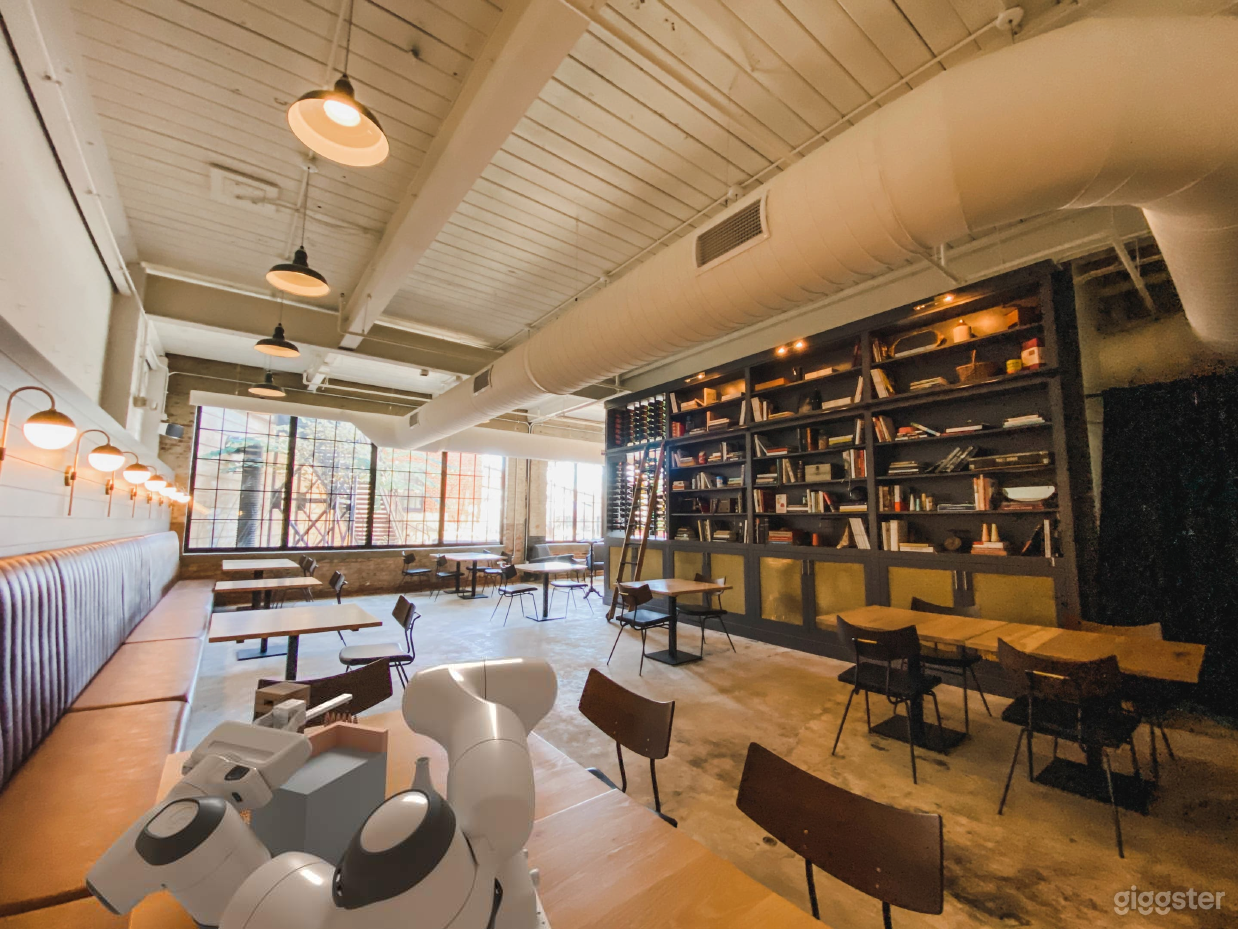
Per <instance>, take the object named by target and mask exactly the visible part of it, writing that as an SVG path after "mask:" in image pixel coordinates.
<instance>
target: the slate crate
mask: <svg viewBox="0 0 1238 929" xmlns="http://www.w3.org/2000/svg"><path fill="white" fill-rule="evenodd" d="M387 766H388V749H387V750H386V751H385V752H383V753H378V752H373V751H368V750H363V749H357V748H352V747H347V746H342V745H335V746H333V747H331V748H329V749H327V750H325V751H323V752H321V753H319V754H317V755H315V756H312V757H310V758H308V759H307V760H306V761H305V762H304V763H303V765H302V766H301V767H300V768H299V769H298V770H297V771H296V772H295V773H294V774H293V776H292V777H291V778H290V779H289V780H288V781H287V782H286V783H285V784H283V785H282V786H281V787H279V788H277V789H275V790H272V791H271V793H272V795H273V796H272V798H271V800H270V801H269V802H268V803H267V804H266V805H265V806H263V807H261V808H256V809H249V823H248V824H249V827H250V828H251V830H252V831H253V832H254V833H255V835H256V836H257V837H258V838H259V840H260V841H261V842H262V843H263V845H264V846H266V847H267V848H268V849H269V850H270V851H271V852H272V853H273V854H274V855H275V856H278V855H281V854H283V853H286V852H302V853H307V854H311V855H314V856H316V857H319V858H321V859H323V860H324V861H326V862H328V863H329V864H331V865H332V866H334V867H335V868H336V867H337V864H338V862H339V860H340V859H341V857H342V855H343V854H344V852H345V851H346V849H347V848H348V845H349V843H350V841H351V840H352V838H353V836H354V835H355V833H356V832H357V830H358V829H359V828H360V826H361V825H362V823H363V822H364V821H365V819H366V818H367V817H368V816H369V814H370V813H371V812H372V811H373V810H374V809H375V808H376V807H377V806H378V805H380V804H381V803H382V802H383V801H385V800H386V790H387Z"/></svg>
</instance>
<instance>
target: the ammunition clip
mask: <svg viewBox="0 0 1238 929" xmlns="http://www.w3.org/2000/svg"><path fill="white" fill-rule="evenodd" d="M335 716H336V717H335ZM357 716H358V715H357V714H354V716H353V718H352V714H351V713H349V714H348V715H346V713H345V712H344V713H342V716H341V714H340V712H337V715H335V712H332V713H331V715H330V713H329V711H326V712H325V717H324V724H323V728H324V727H326V726H329V725H331V724H333V723H336V722H338V721H341V722H347V723H353V724H358V723H359V722H358V717H357Z"/></svg>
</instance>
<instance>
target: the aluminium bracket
mask: <svg viewBox="0 0 1238 929" xmlns="http://www.w3.org/2000/svg"><path fill="white" fill-rule="evenodd" d="M352 699H353V694H350V693H343V694H341V695H339V696H336V697H334V698H332V699H330V700H328V701H326V702H324V703H322V704H319V705H317V706H315V707H313V708H311V709H308V710H307V707H306V701H303V700H296V699H290V700H288V701H286V702H283V703H281V704H278V705H276V706H274V707H273V728H274V729H279V730H281V729H282V728H283V727H284V726H285V725H286V726H288V724H289V722H290V720H291V719H290V718H289V716H290V715H291V714H292V713H294V711H295V710H303V711H304V712H305V714H306V718H305V719H304V720H303V721H302V722H301V723H300V724H299V726H301V725H303V724H305V725H306V723H307V722H308V721H310V720H311V719H314V718H315V717H317V716H320V715H322V714H324V713H327V712H329V711H330V710H331V709H334V708H337V707H338V706H340V705H343V704H344V703H345V704H346V702H348V701H351V700H352Z"/></svg>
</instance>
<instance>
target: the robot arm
mask: <svg viewBox="0 0 1238 929" xmlns="http://www.w3.org/2000/svg"><path fill="white" fill-rule="evenodd" d="M558 686H559V685H558V679H557V675H556V672H555V670H554V668H553V667H552V665H551V664H550V663H549V662H548V661H547V660H546V659H544V658H539V657H532V656H510V657H508V656H507V657H497V658H485V659H481V660H469V661H467V660H466V661H458V662H456V661H455V662H446V663H445V662H444V663H442V664H438V665H435V666H430V667H426V668H423V669H420V670H417V671H416V672H415V673H414V674H413V675H412V677H411V678H410V679H409V681H408V682H407V684H406V686H405V687H404V691H403V694H402V699H401V713H402V717H403V720H404V722H405V724H406V726H407V727H408V728H409V729H410V731H412V732H413V733H414V734H418V735H421V736H425V737H427V738H430V739H431V740H433V741H435V742H436V743H438V744H439V745H440V746H441V747H442V748H443V749H444V750H445V752H446V754H447V761H448V771H447V774H446V794H445V795H446V798H444V797H443V796H442V795H441V794H440V793H439V792H438V791H437V790H436V789H435V790H434V789H432V788H429V787H417V788H412V789H411V788H408V789H404V790H401V791H399V792H397V793H394V794H393V795H391V796H389V797H388V798H385V801H383V802H382V803H381V804H380V805H378V806H377V807H376V808H375V809H374V810H373V811H372V812H371V813H370V814H369V816H368V817H367V818H366V819H365V821H364V822H363V823H362V825H361V826H360V828H359V829H358V830H357V832H356V833H355V835H354V836H353V838H352V840H351V841H350V843H349V845H348V848H347V849H346V851H345V852H344V854H343V855H342V857H341V859H340V860H339V862H338V864H337V867H336V868H335V867H334V866H332V865H331V864H329V863H328V862H326V861H324V860H323V859H321V858H319V857H316V856H314V855H311V854H307V853H302V852H286V853H283V854H281V855H278V856H275V855H274V854H273V853H272V852H271V851H270V850H269V849H268V848H267V847H266V846H264V845H263V843H262V842H261V841H260V840H259V838H258V837H257V836H256V835H255V833H254V832H253V831H252V830H251V828H250V827H249V826H248V823H247V822H246V820H244V818H243V817H242V816H241V814H240V813H239V812H243V811H246V810H247V811H248V810H249V811H250V809H256V808H261V807H263V806H265V805H266V804H267V803H268V802H269V801H270V800H271V798H272V796H273V795H272V793H271V791H272V790H275V789H277V788H279V787H281V786H282V785H283V784H285V783H286V782H287V781H288V780H289V779H290V778H291V777H292V776H293V774H294V773H295V772H296V771H297V770H298V769H299V768H300V767H301V766H302V765H303V763H304V762H305V761H306V760H307V759H308V757H309V756H310V754H311V752H312V745H311V743H310V741H309V739H308V737H307V736H306V735H307V734H305V733H304V734H301V733H296V732H297V730H298V727H299V724H300V723H301V722H302V721H303V720H304V719H305V718H306V714H305V712H304V711H303V710H295V711H294V713H292V714H291V715H290V716H289V718H290V719H291V720H290V722H289V724H288V726H286V725H285V726H284V727H283V728H282V729H281V730H279V729H274V728H268V727H267V726H269V725H270V724H272V723H273V710H272V711H271V712H270V713H268V714H267V713H265V714H264V715H262V716H260V717H259V718H256V719H255V720H254V721H253V722H251V723H246V722H240V721H237V720H230V719H229V720H226V721H224V722H221V723H220V724H218V725H217V726H216V727H214V728H213V730H212V731H210V732H209V733H208V734H207V736H205V737H204V738H203V740H201V741H200V743H199V744H198V745H197V746H196V747H195V748H194V749H193V751H192V752H191V754H190V756H189V757H188V759H186V760H185V761H184V762H183V763H182V768H181V775H182V776H183V777H181V779H180V780H178V782H177V783H175V785H173V787H172V788H171V790H170V791H169V792H168V794H167V795H166V796H165V797H164V798H163V799H162V800H160V802H159V803H157V804H156V805H155V806H153V807H151V808H150V809H148V810H147V811H145V812H144V813H143V814H142V815H141V816H140V817H139V818H137V820H135V821H134V822H133V823H132V824H131V825H130V826H129V827H128V828H127V829H126V830H125V831H124V832H123V833H122V834H121V835H120V836H119V837H117V839H116V840H115V841H114V842H113V843H112V844H111V845H110V846H109V847H108V848H107V849H106V850H105V851H104V853H103V854H101V856H100V857H99V858H98V859H97V860H96V862H95V863H94V864H93V866H91V868H90V869H89V871H88V872H87V873H86V874H85V885H86V887H87V889H88V891H89V892H90V893H91V894H92V895H93V897H95V898H96V899H97V900H98V902H99V903H100V904H101V905H103V907H105V908H106V909H107V911H109V912H110V913H112V914H113V915H116V916H124V915H126V914H128V913H129V912H131V911H132V909H134V908H135V907H137V906H138V905H139V904H140V903H141V902H143V900H144V899H146V898H147V897H148V896H149V895H150V894H154V893H158V892H165V891H167V892H168V893H169V894H170V895H171V896H172V897H173V899H175V900H176V902H177V903H178V904H180V906H181V907H182V908H183V909H184V910H185V912H187V914H188V915H190V917H191V919H192V920H193V922H194V923H195V924H196V926H197V928H199V929H552V927H551V924H550V923H549V920H548V917H547V915H546V912H545V910H544V907H543V904H542V902H541V899H540V897H539V894H538V891H537V889H536V887H538V886H540V883H541V878H540V871H539V869H538V868H532V869H530V868H529V865H528V861H527V859H529V850H528V849H527V848H525V849H523V848H524V846H526V843H527V842H528V841H529V839H530V837H531V835H532V831H533V829H534V824H535V814H536V790H535V789H536V786H535V776H534V769H533V763H532V759H531V754H530V750H529V749H530V748H529V744H528V740H527V739H528V736H529V735H530V734H531V733H532V731H533V730H534V728H535V727H536V726H537V725H538V724H539V723H540V722H541V721H542V720H543V719H544V718H545V717H547V715H548V714H550V712H551V711H552V709H553V708H554V705H555V703H556V700H557V698H558V697H557V696H558V689H559V688H558Z"/></svg>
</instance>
